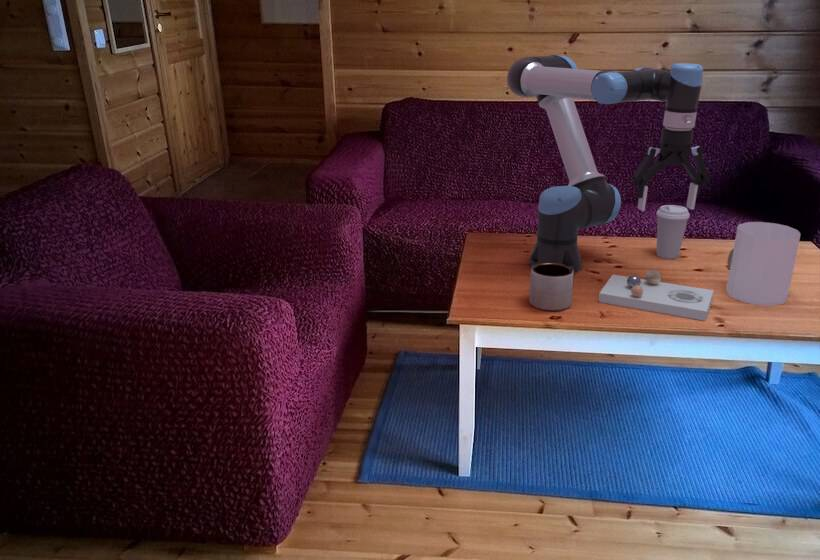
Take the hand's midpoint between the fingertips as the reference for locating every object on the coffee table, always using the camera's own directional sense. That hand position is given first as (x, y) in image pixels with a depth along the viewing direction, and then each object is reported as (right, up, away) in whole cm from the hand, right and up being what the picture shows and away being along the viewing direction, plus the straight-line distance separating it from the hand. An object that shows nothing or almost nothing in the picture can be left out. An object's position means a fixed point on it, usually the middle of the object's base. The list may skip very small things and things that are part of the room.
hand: (665, 209), depth 178 cm
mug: (+30, -16, +18) cm, 39 cm away
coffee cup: (+12, -11, +30) cm, 34 cm away
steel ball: (-9, -19, -1) cm, 21 cm away
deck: (-3, -24, -2) cm, 24 cm away
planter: (-31, -25, -3) cm, 40 cm away
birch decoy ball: (-3, -18, +1) cm, 18 cm away
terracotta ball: (-10, -22, -6) cm, 25 cm away
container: (+24, -23, +1) cm, 34 cm away
